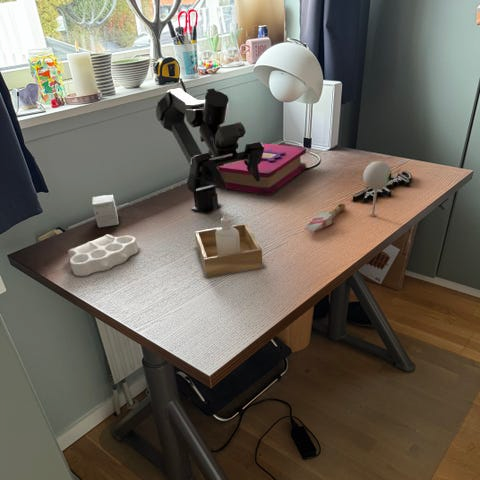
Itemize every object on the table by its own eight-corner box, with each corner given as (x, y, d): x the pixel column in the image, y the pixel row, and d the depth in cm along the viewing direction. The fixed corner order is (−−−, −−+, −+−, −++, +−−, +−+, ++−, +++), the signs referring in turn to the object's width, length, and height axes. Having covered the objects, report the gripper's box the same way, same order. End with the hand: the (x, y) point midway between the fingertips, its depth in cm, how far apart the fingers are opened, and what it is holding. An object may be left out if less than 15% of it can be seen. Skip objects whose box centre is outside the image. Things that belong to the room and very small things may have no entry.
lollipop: (381, 223, 127) (388, 167, 118) (355, 218, 130) (360, 164, 121) (389, 213, 131) (396, 159, 122) (364, 209, 135) (370, 156, 126)
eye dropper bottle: (229, 266, 113) (225, 219, 105) (215, 258, 116) (210, 213, 109) (243, 259, 115) (240, 213, 108) (229, 252, 118) (225, 207, 111)
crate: (197, 248, 122) (194, 231, 119) (247, 239, 124) (246, 223, 121) (206, 277, 110) (204, 259, 107) (262, 267, 112) (261, 249, 109)
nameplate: (393, 168, 155) (422, 174, 149) (393, 173, 156) (421, 179, 150) (345, 194, 140) (375, 202, 134) (345, 199, 141) (374, 207, 135)
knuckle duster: (118, 238, 130) (148, 254, 121) (58, 263, 120) (86, 282, 111) (115, 227, 128) (146, 242, 119) (54, 251, 118) (82, 270, 110)
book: (214, 186, 157) (212, 164, 153) (256, 161, 176) (255, 140, 171) (269, 195, 148) (269, 171, 143) (307, 167, 166) (307, 145, 162)
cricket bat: (301, 223, 122) (336, 200, 135) (301, 233, 124) (336, 209, 137) (314, 226, 120) (349, 202, 133) (314, 236, 122) (348, 211, 135)
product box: (97, 228, 137) (91, 204, 132) (98, 220, 141) (91, 196, 137) (119, 224, 137) (113, 201, 133) (118, 216, 142) (113, 193, 138)
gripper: (185, 120, 110) (212, 168, 105) (254, 107, 116) (283, 151, 111) (182, 156, 120) (206, 201, 115) (246, 142, 126) (272, 184, 121)
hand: (242, 184), depth 115 cm, fingers open, 9 cm apart
